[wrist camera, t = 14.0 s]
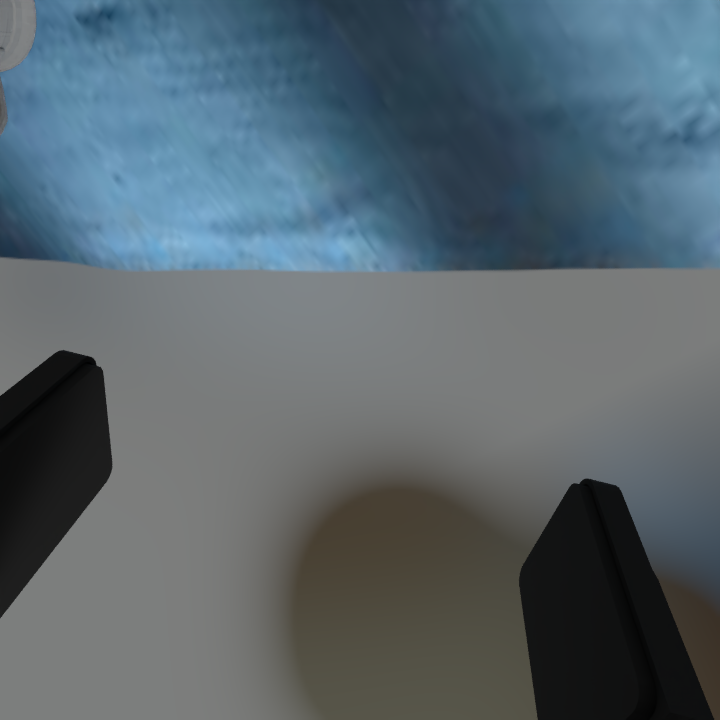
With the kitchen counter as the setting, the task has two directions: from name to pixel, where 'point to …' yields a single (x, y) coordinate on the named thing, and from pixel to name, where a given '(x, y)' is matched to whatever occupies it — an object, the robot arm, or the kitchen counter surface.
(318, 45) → the kitchen counter surface
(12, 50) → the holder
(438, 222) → the kitchen counter surface
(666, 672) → the robot arm
